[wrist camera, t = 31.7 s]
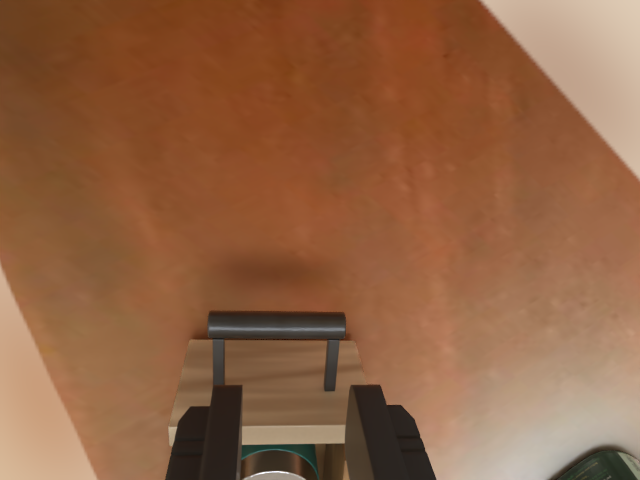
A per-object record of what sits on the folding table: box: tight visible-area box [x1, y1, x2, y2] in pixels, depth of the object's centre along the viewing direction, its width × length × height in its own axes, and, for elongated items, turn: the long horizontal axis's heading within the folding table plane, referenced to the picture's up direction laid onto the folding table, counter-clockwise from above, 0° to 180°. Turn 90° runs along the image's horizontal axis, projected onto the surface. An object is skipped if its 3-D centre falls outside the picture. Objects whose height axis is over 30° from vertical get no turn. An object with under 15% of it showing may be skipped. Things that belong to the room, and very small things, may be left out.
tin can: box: [240, 444, 319, 480], centre depth 32 cm, size 5×5×7 cm
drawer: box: [168, 311, 367, 480], centre depth 32 cm, size 18×10×8 cm, turn 176°
